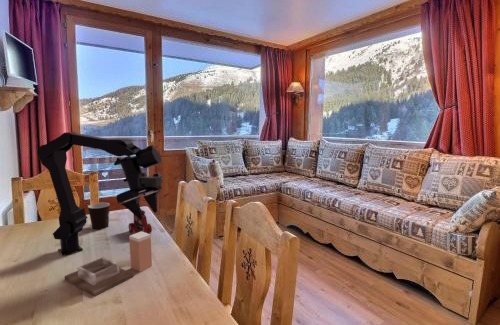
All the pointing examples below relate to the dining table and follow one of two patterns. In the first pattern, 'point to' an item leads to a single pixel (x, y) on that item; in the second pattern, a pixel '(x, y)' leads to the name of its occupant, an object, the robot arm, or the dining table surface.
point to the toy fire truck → (140, 225)
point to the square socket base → (98, 276)
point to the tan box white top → (140, 251)
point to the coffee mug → (99, 215)
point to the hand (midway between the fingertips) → (148, 215)
